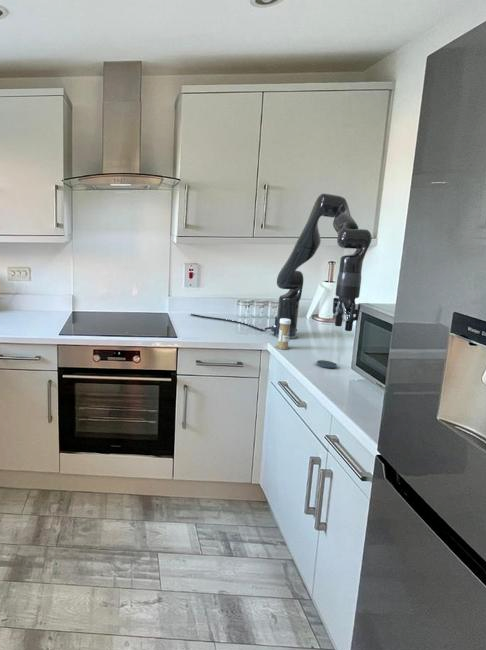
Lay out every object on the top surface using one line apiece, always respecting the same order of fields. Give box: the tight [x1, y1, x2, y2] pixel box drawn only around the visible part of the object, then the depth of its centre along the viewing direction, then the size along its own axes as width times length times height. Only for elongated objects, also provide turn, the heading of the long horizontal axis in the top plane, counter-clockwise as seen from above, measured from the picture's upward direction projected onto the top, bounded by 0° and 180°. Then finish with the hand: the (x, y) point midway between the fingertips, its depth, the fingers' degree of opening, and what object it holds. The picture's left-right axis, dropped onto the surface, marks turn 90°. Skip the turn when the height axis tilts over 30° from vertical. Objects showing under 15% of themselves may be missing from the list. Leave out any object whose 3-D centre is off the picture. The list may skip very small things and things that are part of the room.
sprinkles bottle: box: [277, 318, 291, 350], centre depth 188 cm, size 5×5×14 cm
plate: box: [316, 359, 338, 369], centre depth 166 cm, size 7×7×1 cm
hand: (343, 328), depth 155 cm, fingers open, 6 cm apart
